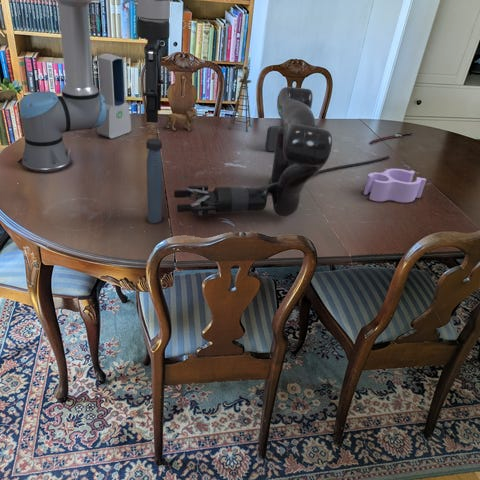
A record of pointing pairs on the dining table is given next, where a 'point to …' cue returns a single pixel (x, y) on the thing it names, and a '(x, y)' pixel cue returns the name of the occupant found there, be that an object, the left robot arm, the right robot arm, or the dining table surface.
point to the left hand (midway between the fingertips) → (153, 115)
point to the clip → (394, 186)
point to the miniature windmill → (244, 81)
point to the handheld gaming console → (273, 137)
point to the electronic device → (113, 96)
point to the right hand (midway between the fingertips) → (175, 200)
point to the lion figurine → (182, 118)
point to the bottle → (154, 186)
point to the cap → (154, 144)
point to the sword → (388, 137)
